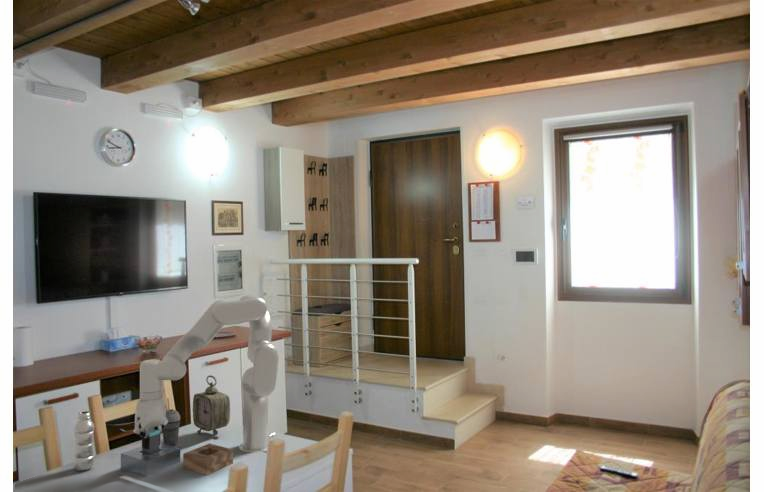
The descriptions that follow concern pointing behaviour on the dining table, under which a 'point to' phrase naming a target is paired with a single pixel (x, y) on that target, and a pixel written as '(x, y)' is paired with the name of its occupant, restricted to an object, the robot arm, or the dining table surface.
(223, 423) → the tabletop clock
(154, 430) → the plug
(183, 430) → the dining table surface
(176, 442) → the beverage cup
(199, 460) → the wooden square hole block
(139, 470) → the socket block
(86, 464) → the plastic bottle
